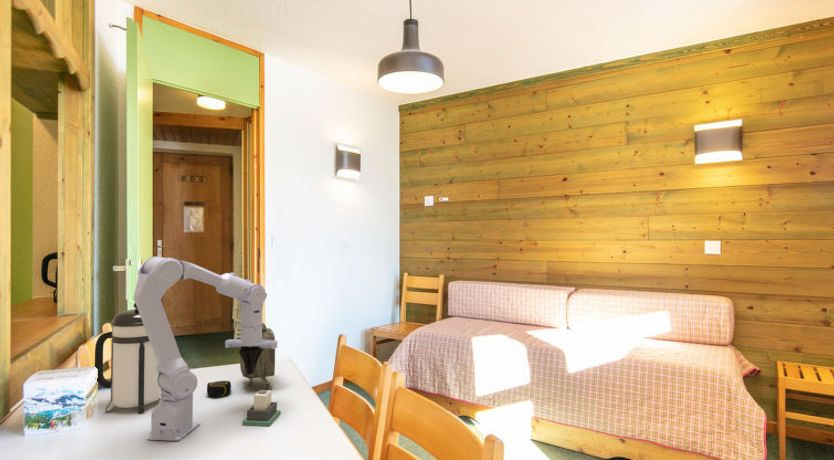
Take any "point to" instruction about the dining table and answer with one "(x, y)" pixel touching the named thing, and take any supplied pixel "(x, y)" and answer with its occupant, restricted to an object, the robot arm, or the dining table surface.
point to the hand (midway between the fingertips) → (251, 373)
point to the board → (261, 416)
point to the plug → (262, 400)
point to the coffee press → (129, 363)
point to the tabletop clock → (262, 361)
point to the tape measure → (218, 388)
